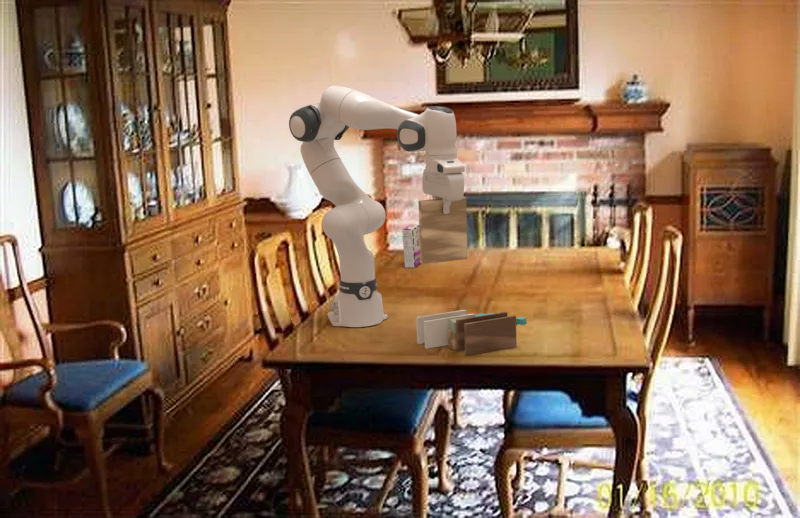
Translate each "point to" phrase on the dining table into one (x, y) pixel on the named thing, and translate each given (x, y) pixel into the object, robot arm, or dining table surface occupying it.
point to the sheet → (442, 231)
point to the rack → (486, 333)
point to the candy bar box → (411, 246)
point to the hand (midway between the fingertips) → (442, 212)
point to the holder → (437, 327)
